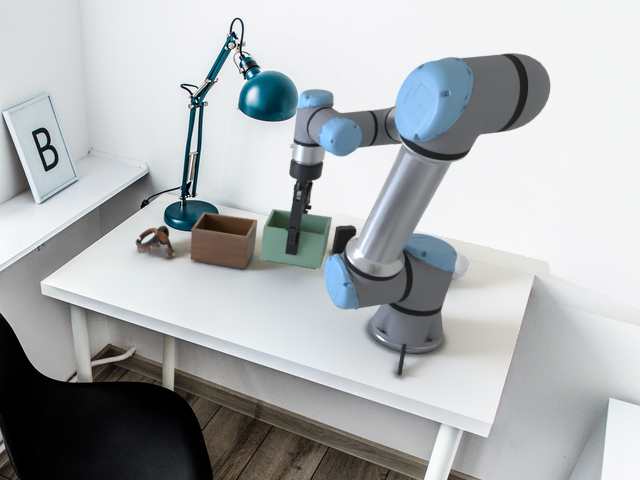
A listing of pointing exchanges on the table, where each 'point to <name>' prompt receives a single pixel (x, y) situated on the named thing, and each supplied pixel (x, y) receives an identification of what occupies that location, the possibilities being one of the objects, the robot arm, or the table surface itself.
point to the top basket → (309, 244)
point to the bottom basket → (223, 240)
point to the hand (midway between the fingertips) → (295, 243)
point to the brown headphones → (155, 240)
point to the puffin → (460, 266)
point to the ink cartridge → (342, 238)
